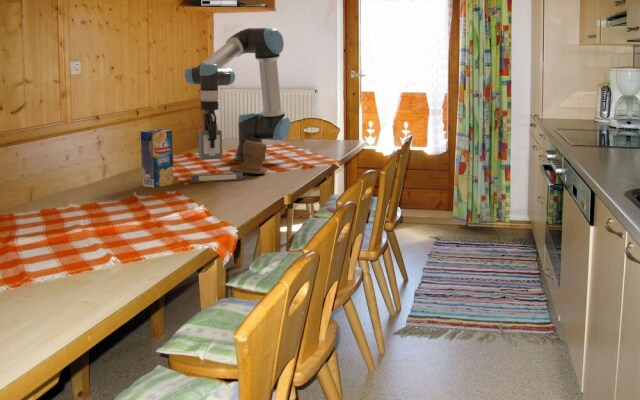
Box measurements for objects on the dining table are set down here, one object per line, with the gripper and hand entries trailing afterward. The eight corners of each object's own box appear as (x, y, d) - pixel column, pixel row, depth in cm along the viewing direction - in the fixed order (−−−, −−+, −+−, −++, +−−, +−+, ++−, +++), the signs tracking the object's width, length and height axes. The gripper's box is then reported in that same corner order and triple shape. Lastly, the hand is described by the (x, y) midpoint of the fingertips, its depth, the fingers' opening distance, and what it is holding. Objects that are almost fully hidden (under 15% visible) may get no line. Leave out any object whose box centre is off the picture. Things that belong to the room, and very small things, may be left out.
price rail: (191, 182, 323) (190, 174, 323) (242, 179, 331) (241, 172, 331) (191, 182, 322) (191, 175, 321) (243, 179, 330) (243, 172, 329)
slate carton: (219, 157, 340) (218, 129, 337) (222, 158, 335) (221, 131, 333) (199, 158, 336) (198, 130, 334) (201, 159, 332) (201, 131, 329)
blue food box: (173, 183, 319) (172, 130, 315) (154, 187, 310) (152, 132, 306) (161, 182, 323) (159, 129, 318) (142, 185, 314) (140, 131, 309)
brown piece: (271, 173, 348) (271, 139, 345) (258, 176, 338) (258, 142, 335) (242, 170, 355) (242, 137, 352) (228, 174, 344) (228, 140, 341)
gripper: (196, 99, 338) (197, 152, 342) (205, 102, 321) (206, 157, 326) (213, 98, 340) (214, 151, 345) (223, 101, 324) (224, 157, 328)
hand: (210, 154), depth 335 cm, fingers closed on slate carton, 5 cm apart
